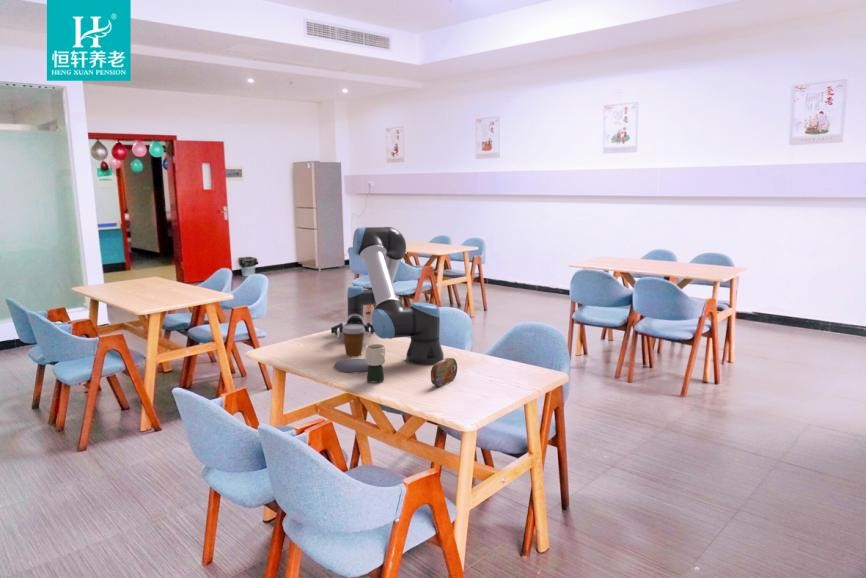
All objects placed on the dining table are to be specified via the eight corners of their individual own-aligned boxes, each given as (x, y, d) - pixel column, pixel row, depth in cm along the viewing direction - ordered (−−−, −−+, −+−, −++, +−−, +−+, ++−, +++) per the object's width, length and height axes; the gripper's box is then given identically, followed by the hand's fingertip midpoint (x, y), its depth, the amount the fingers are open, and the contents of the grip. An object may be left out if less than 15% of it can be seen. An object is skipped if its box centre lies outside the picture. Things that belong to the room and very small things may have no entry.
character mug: (392, 383, 212) (392, 347, 210) (375, 387, 207) (375, 351, 205) (375, 375, 220) (375, 341, 218) (358, 379, 216) (358, 344, 214)
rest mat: (382, 363, 235) (382, 361, 235) (361, 374, 221) (361, 372, 220) (348, 358, 241) (348, 356, 241) (325, 369, 227) (325, 367, 227)
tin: (436, 389, 206) (436, 366, 204) (428, 387, 207) (429, 364, 206) (457, 378, 218) (458, 356, 217) (450, 376, 220) (450, 354, 218)
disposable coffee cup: (340, 357, 243) (340, 328, 241) (344, 351, 252) (344, 323, 250) (363, 358, 242) (363, 329, 240) (366, 351, 252) (366, 324, 250)
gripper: (381, 330, 278) (382, 342, 257) (328, 331, 275) (324, 343, 254) (381, 314, 276) (382, 325, 256) (327, 315, 274) (324, 326, 253)
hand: (353, 334), depth 255 cm, fingers open, 13 cm apart
